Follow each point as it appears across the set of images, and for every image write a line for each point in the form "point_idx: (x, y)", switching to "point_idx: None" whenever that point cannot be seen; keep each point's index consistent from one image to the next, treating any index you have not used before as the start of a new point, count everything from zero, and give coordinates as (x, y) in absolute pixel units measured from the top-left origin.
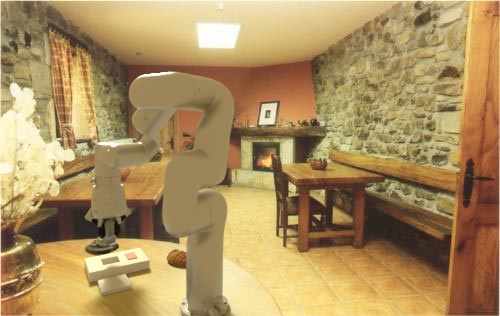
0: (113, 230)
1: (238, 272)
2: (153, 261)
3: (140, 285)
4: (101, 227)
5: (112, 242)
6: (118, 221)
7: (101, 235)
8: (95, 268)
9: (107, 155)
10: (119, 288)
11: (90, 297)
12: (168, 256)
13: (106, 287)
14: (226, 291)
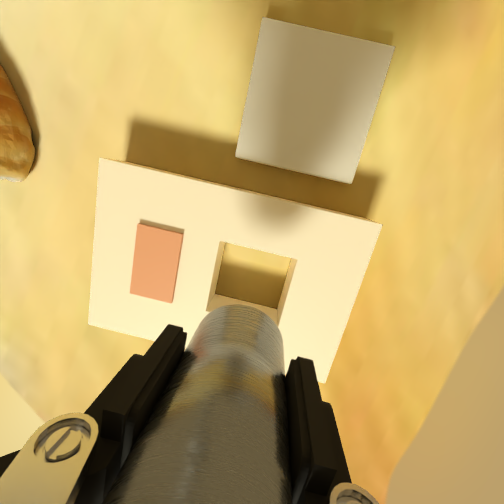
0: (196, 372)
1: None
2: (86, 216)
3: (221, 25)
4: (329, 463)
5: (233, 308)
6: (68, 463)
7: (315, 378)
8: (339, 250)
9: None
10: (317, 29)
11: (426, 79)
12: (7, 160)
13: (356, 83)
14: None
